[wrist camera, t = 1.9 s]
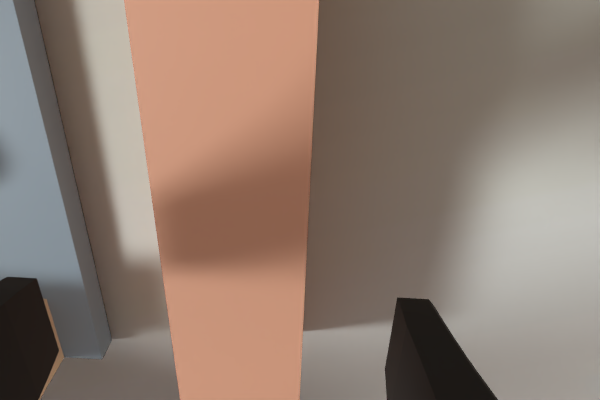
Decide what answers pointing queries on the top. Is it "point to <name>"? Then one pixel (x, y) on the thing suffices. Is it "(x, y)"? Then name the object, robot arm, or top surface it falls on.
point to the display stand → (43, 193)
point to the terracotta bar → (229, 183)
